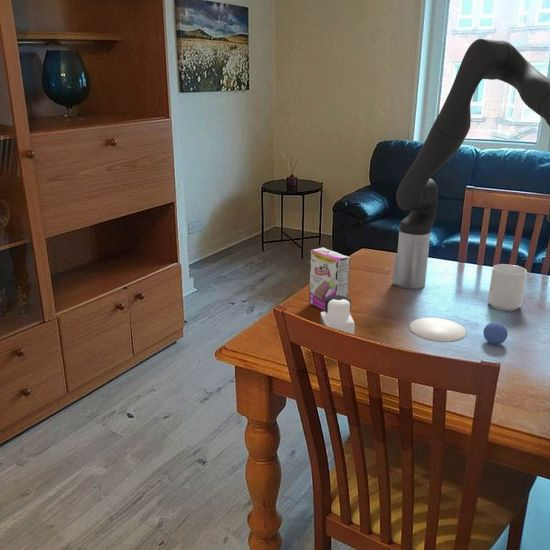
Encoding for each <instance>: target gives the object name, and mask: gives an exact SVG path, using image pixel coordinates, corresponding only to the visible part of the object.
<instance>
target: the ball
mask: <svg viewBox="0 0 550 550" xmlns="http://www.w3.org/2000/svg"><path fill="white" fill-rule="evenodd" d="M508 334H509V333H508V330H507V328H506V326H505V325H504V324H503V323H501V322H498V321H492V322H490V323H487V324H486V325H485V327H484V328H483V337H484V340H485V341H487V342H488V343H489V344H491V345H495V346H496V345H501V344H503V343H504V342H506V339H507V338H508Z"/></svg>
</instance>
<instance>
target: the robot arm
mask: <svg viewBox="0 0 550 550" xmlns="http://www.w3.org/2000/svg"><path fill="white" fill-rule="evenodd" d="M461 60H462V61H461V63H460V65H459V67H458V70H457V73H456V75H455V78H454V81H453V84H452V85H451V88H450V91H449V92H448V95H447V96H446V98H445V100H444V103H443V105H442V107H441V109H440V111H439V113H438V115H437V117H436V118H435V120H434V122H433V124H432V127H430V128H431V129H430V130H429V133H428V134H427V137H426V139H425V141H424V143H423V145H422V146H421V148H420V149H419V151H418V153H417V156H416V157H415V160H414V161H413V163H412V164H411V165H410V168H409V169H408V171H407V172H406V174H405V175H404V177H403V178H402V180H401V181H400V183H399V184H398V188H397V191H396V198H395V200H396V203H397V206H398V207H399V208H400V209H402V210H404V211H410V213H409V214H408V215H407V216H405V218H403V219H401V221H400V222H399V232H398V243H397V244H398V245H397V253H396V254H395V255H394V264H393V274H392V284H393V285H396V286H397V287H399V288H403V289H409V290H413V289H414V290H418V289H422V288H424V287H425V286H426V279H427V278H426V277H427V269H428V260H429V259H428V258H429V249H430V240H431V233H432V232H431V230H432V227H433V225H434V223H435V218H436V214H437V212H436V211H437V206H438V201H439V199H438V198H439V189H438V185H437V183H436V181H435V180H434V179H432V176H433V175H434V174H435V173H436V172H437V171H438V170H439V169H440V168H442V166H444V165H445V164H446V163H447V162H448V161H449V160H451V158H453V156H455V154H457V152H458V151H459V149H460V148H461V146H462V144H463V143H464V141H465V139H466V137H467V135H468V133H469V132H470V129H471V121H472V119H471V117H472V116H471V102H472V99H473V96H474V94H475V93H476V90H477V88H478V86H479V84H480V83H481V82H482V80H491V81H493V80H498V81H501V82H504V83H506V84H507V85H508V84H509V85H510V86H512V87H513V88H514V89H516V91H517V92H518V95H519V97H520V99H521V100H522V101H523V103H524V104H525V105H526V107H528V108H529V109H530V110H531V111H533V112H534V113H536V114H537V115H538V116H540V117H541V118H543V119H544V121H545V122H546V124H547V126H548V127H550V78H549V77H547V76H546V75H544V74H543V73H541V72H540V71H539V70H538V69H536V68H535V66H534V65H532V64H531V63H530V62H529V61H528V59H526V57H524V56H523V55H522V54H521V53H520V51H519V50H518V49H517V48H516V47H515V46H514V45H513V44H512V43H510V42H508V41H506V40H503V39H493V38H488V37H487V38H486V37H482V38H477V39H476V40H474V41H473V42H472V43H471V44H470V45H469V47H468V48H467V49H466V51H465V53H464V55H463V58H462V59H461ZM548 205H549V206H548V211H547V217H546V220H547V221H548V222H549V223H550V203H549V204H548ZM548 276H549V277H550V271H549V272H548Z"/></svg>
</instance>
